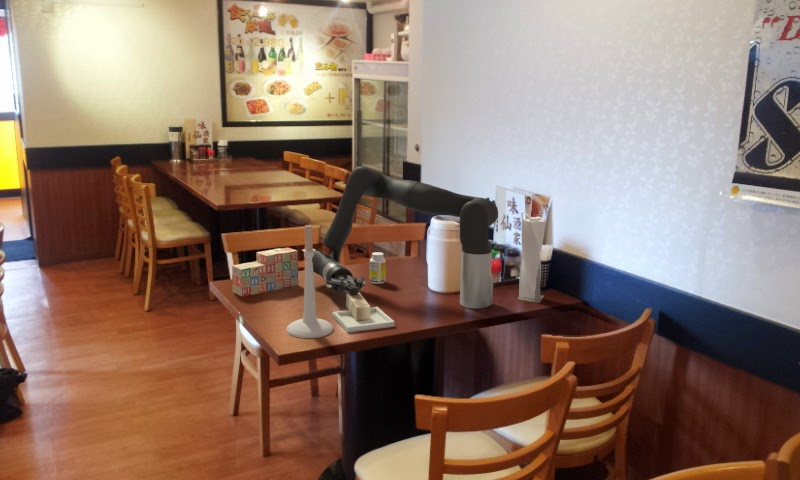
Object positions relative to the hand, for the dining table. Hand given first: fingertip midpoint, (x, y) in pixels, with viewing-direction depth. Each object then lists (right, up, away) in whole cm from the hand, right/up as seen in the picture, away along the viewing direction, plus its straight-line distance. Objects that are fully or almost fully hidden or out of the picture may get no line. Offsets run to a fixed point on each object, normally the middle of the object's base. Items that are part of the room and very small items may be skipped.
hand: (355, 291), depth 200 cm
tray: (+3, -8, -4) cm, 10 cm away
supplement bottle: (+5, 0, +35) cm, 35 cm away
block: (-1, -2, +3) cm, 4 cm away
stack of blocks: (-31, -1, +25) cm, 40 cm away
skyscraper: (+55, -4, +20) cm, 59 cm away
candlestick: (-12, -10, -12) cm, 19 cm away
